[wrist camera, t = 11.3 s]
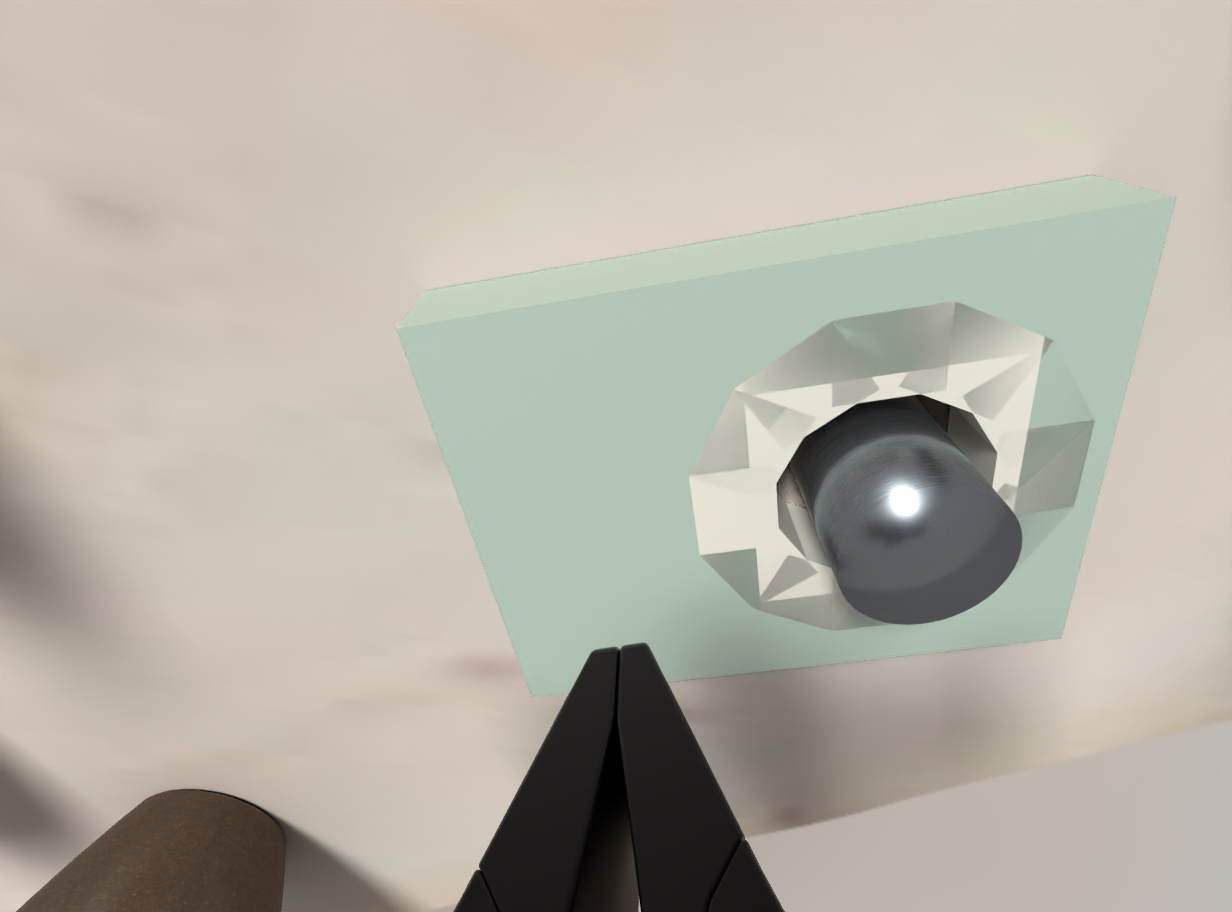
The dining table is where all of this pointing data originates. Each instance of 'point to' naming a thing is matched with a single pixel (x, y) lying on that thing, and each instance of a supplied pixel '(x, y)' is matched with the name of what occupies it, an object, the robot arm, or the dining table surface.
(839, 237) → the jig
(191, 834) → the plant pot
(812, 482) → the dark metal cylinder
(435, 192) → the dining table surface
